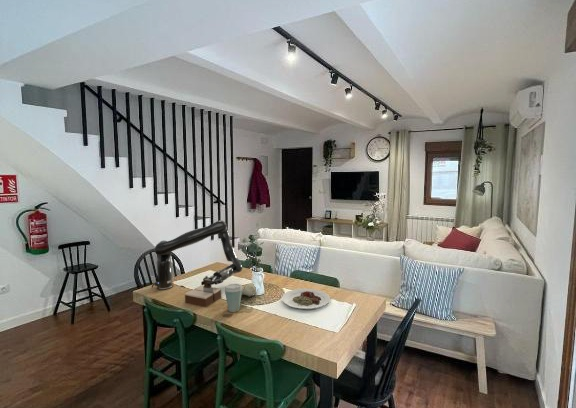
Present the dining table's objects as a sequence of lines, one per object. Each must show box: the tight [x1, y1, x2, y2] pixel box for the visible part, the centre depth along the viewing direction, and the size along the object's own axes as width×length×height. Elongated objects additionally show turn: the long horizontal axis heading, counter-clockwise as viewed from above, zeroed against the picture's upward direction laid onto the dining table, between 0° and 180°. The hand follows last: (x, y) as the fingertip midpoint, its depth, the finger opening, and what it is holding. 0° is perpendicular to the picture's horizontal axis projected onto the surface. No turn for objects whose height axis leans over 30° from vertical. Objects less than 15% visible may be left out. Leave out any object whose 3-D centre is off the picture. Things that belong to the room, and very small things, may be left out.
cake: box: [184, 284, 222, 308], centre depth 199 cm, size 16×15×6 cm
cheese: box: [241, 282, 257, 298], centre depth 206 cm, size 15×7×15 cm
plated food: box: [281, 288, 331, 310], centre depth 195 cm, size 30×30×3 cm
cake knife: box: [203, 279, 213, 293], centre depth 197 cm, size 7×2×14 cm, turn 66°
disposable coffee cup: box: [223, 283, 244, 313], centre depth 184 cm, size 11×11×15 cm
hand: (204, 284), depth 194 cm, fingers closed on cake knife, 4 cm apart
